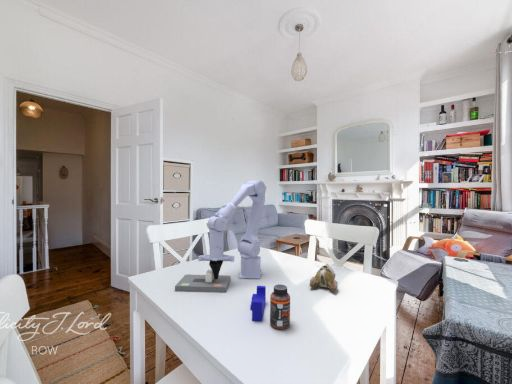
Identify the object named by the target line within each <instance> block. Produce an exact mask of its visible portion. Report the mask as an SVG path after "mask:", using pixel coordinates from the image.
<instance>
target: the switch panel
mask: <svg viewBox="0 0 512 384" xmlns="http://www.w3.org/2000/svg"><path fill="white" fill-rule="evenodd" d="M230 283H231V275H226V274H225V275H223V274H222V275H221V274H219V277H218V279H213V281H212V282H205V274H184V275H183V277H182V278H181V279H180V280H179V281H178V282H177V283H176V285H175V286H174V292H189V293H190V292H195V293H198V292H199V293H227V291H228V289H229V286H230Z"/></svg>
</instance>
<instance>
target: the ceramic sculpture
mask: <svg viewBox="0 0 512 384" xmlns="http://www.w3.org/2000/svg"><path fill="white" fill-rule="evenodd" d="M335 278H336V272H335V271H334V269H333V268H332V266H330V265H329V264H328V263H326V264H325V265H322V266H321V267H320V268H319V270H318V271H317V272H316V274H315V276H312V277H311V279H310V281H309V287H311V288H316V287H321V288H324V289H325V288H326V289H327V288H328V289H329V290H331V291H334V292H335V291H336V290H337V288H338V282H337V280H335Z"/></svg>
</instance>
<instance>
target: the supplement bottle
mask: <svg viewBox="0 0 512 384" xmlns="http://www.w3.org/2000/svg"><path fill="white" fill-rule="evenodd" d="M269 299H270V302H269V303H270V304H269V305H270V306H269V307H270V309H269V324H270V326H271V327H273V329H277V330H284V329H287V328H289V327H290V324H291V323H290V322H291V295H290V294H289V293H288V286H287V285H285V284H281V283H280V284H279V283H278V284H275V285H274V286H273V292H271V293H270V298H269Z"/></svg>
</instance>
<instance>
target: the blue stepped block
mask: <svg viewBox="0 0 512 384" xmlns="http://www.w3.org/2000/svg"><path fill="white" fill-rule="evenodd" d="M266 288H267V287H266V285H257V286H256V293H253V294H252V296H251V300H250V301H251V302H250V305H249V306H250V308H249V310H250V311H251V322H263V318H264V317H263V316H264V314H265V313H264V312H265V309H266V308H265V307H266V301H267V300H266V295H267V293H266V290H267V289H266Z"/></svg>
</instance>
